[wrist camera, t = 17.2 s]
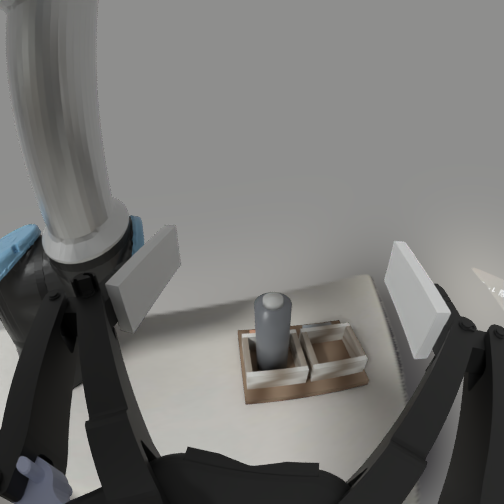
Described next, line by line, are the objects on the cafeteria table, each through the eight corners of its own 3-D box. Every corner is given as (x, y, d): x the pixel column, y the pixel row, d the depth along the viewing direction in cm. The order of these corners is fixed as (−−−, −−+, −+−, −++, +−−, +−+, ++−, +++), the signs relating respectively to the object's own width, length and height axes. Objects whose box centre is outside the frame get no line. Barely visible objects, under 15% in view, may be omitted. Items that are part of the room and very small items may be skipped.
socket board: (245, 404, 33) (245, 388, 31) (237, 334, 45) (237, 317, 43) (367, 384, 35) (375, 368, 33) (338, 324, 47) (342, 307, 45)
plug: (257, 377, 36) (254, 312, 30) (256, 354, 40) (253, 287, 34) (288, 375, 36) (294, 309, 30) (285, 352, 40) (289, 286, 34)
